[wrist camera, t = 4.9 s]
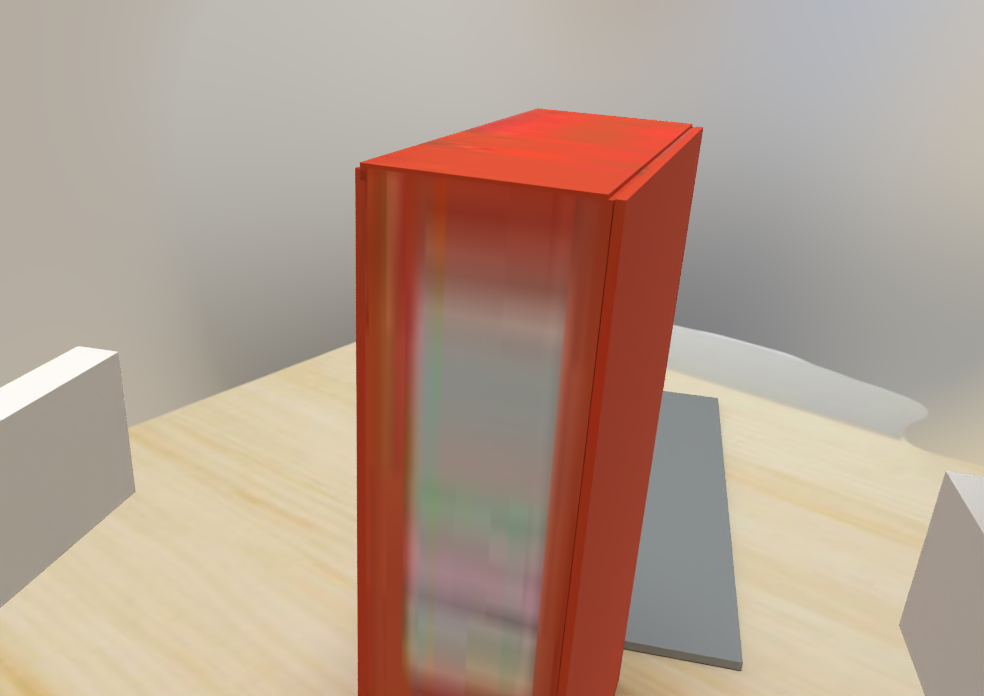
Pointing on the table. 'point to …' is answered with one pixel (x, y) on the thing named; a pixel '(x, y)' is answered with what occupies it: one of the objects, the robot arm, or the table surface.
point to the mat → (686, 543)
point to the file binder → (511, 397)
